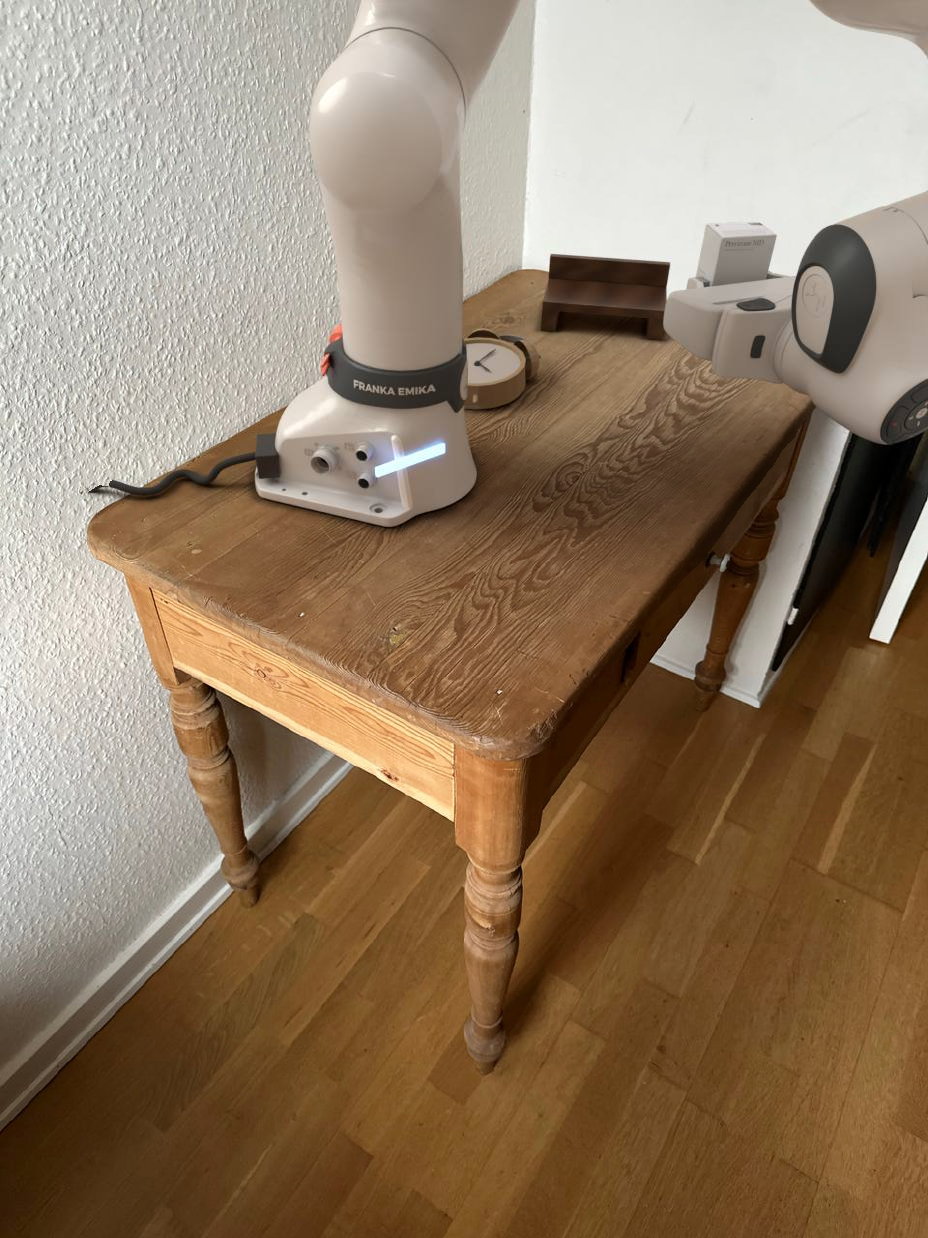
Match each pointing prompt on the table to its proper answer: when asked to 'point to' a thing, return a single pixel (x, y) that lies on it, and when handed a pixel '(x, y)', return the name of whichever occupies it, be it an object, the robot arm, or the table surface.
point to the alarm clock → (497, 368)
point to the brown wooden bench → (606, 289)
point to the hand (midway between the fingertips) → (724, 280)
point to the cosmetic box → (735, 252)
